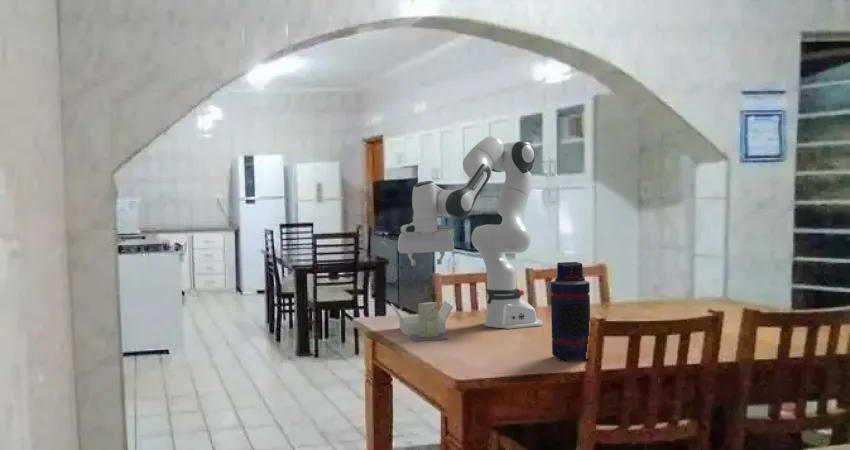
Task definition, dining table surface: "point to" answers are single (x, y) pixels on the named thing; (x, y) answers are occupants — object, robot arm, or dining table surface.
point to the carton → (411, 323)
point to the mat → (417, 338)
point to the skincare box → (428, 319)
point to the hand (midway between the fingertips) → (426, 264)
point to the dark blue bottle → (570, 312)
